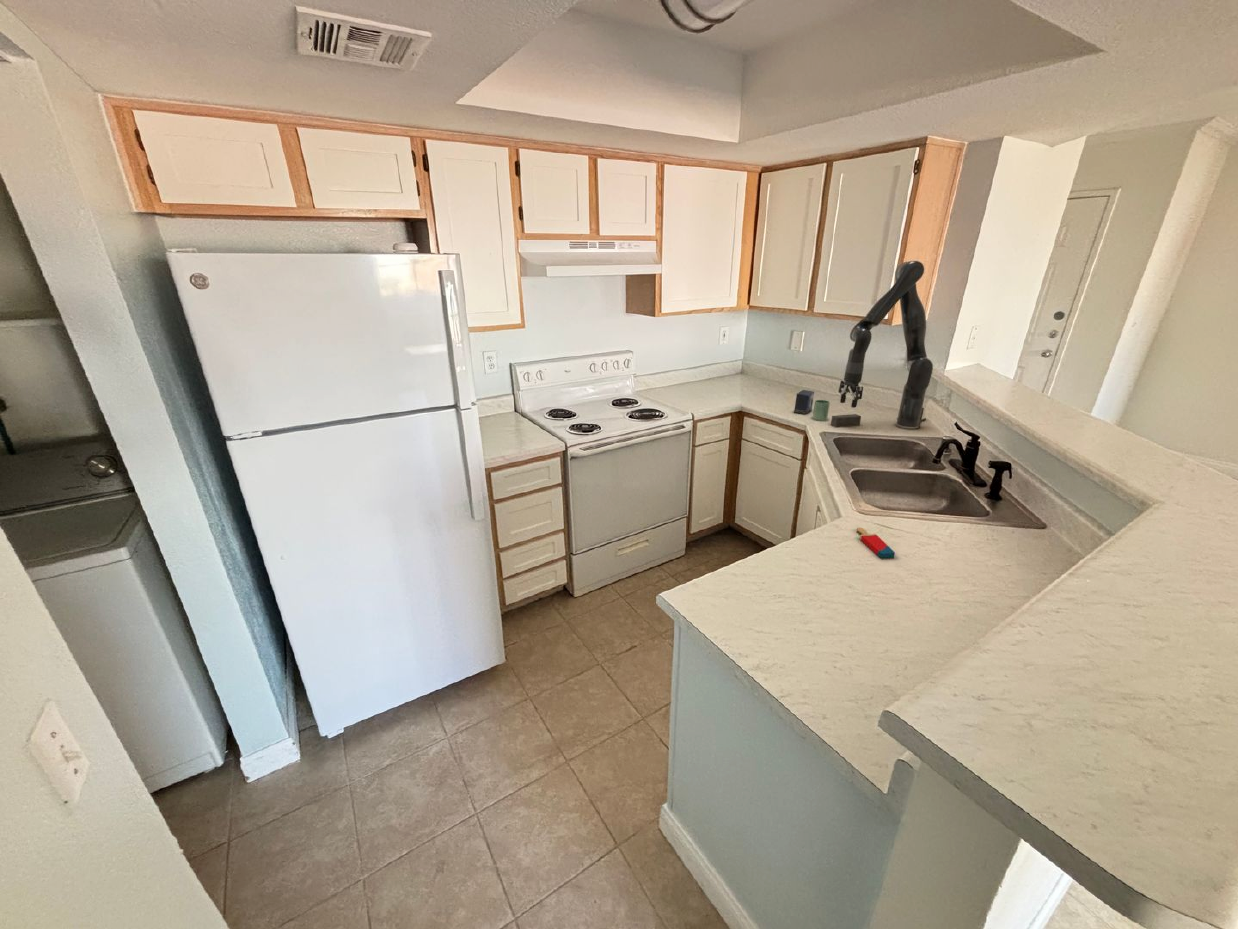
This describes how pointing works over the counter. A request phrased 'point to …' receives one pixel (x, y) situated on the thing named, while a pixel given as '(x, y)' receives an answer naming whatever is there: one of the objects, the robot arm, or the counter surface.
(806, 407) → the small box
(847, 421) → the bar
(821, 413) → the cup
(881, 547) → the popsicle
